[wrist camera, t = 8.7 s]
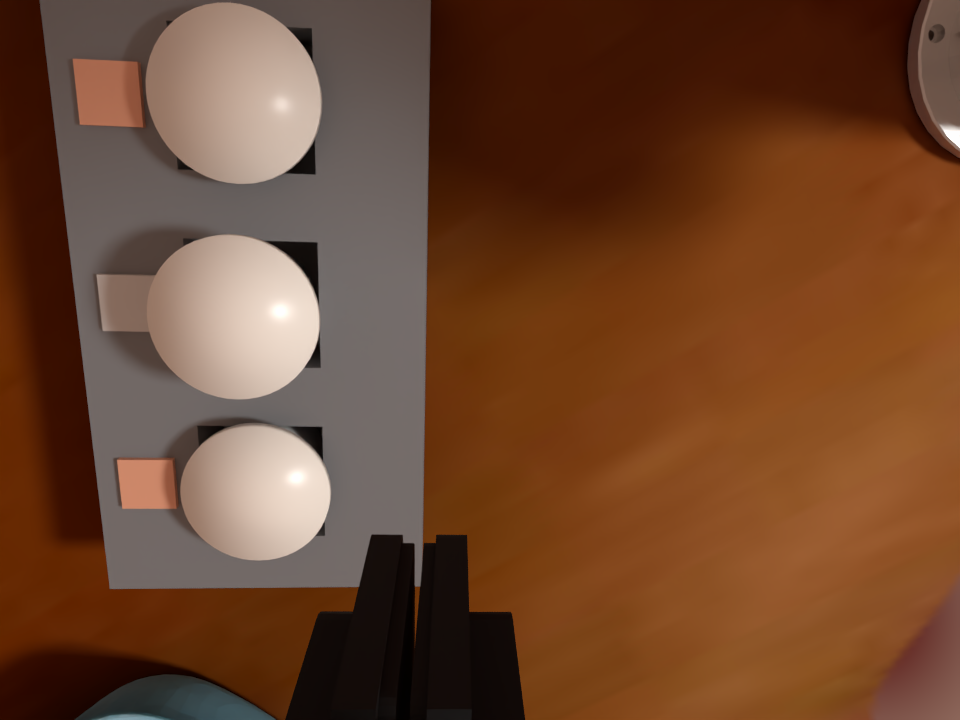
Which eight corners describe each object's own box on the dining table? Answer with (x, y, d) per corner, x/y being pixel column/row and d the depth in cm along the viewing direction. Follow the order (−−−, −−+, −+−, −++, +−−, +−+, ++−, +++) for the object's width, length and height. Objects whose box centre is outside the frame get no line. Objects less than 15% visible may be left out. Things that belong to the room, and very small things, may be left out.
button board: (431, -12, 33) (431, -46, 28) (422, 538, 41) (421, 589, 36) (91, -31, 32) (26, -71, 27) (149, 538, 40) (107, 592, 35)
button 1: (336, 34, 32) (317, 7, 27) (338, 185, 34) (322, 187, 29) (185, 27, 32) (137, -3, 27) (196, 180, 34) (153, 180, 28)
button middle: (334, 228, 33) (316, 237, 28) (337, 367, 35) (320, 400, 29) (186, 223, 32) (138, 232, 27) (196, 364, 34) (154, 398, 29)
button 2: (342, 392, 37) (327, 427, 32) (344, 508, 39) (330, 560, 34) (211, 391, 36) (174, 426, 31) (219, 508, 38) (186, 560, 33)
